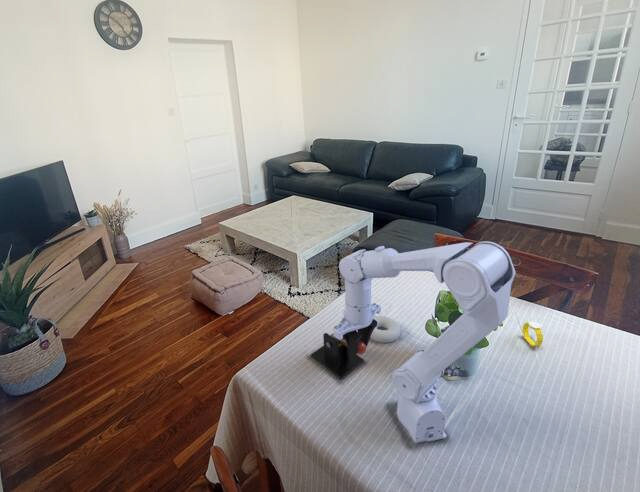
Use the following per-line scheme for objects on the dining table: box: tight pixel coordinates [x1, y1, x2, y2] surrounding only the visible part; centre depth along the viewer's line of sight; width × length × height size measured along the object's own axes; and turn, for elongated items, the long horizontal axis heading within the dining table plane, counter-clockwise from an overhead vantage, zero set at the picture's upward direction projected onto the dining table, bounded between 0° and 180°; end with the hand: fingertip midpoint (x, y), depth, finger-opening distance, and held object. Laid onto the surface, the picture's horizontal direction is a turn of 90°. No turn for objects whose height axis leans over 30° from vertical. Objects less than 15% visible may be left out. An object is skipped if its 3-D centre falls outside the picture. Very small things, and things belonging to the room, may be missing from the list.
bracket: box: [310, 325, 365, 381], centre depth 88 cm, size 11×9×9 cm
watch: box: [521, 320, 544, 347], centre depth 89 cm, size 6×3×6 cm, turn 178°
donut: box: [370, 315, 402, 344], centre depth 98 cm, size 10×4×10 cm
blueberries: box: [442, 364, 465, 382], centre depth 83 cm, size 7×8×2 cm
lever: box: [329, 333, 367, 355], centre depth 84 cm, size 11×3×3 cm, turn 38°
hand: (358, 348), depth 81 cm, fingers closed on lever, 3 cm apart
